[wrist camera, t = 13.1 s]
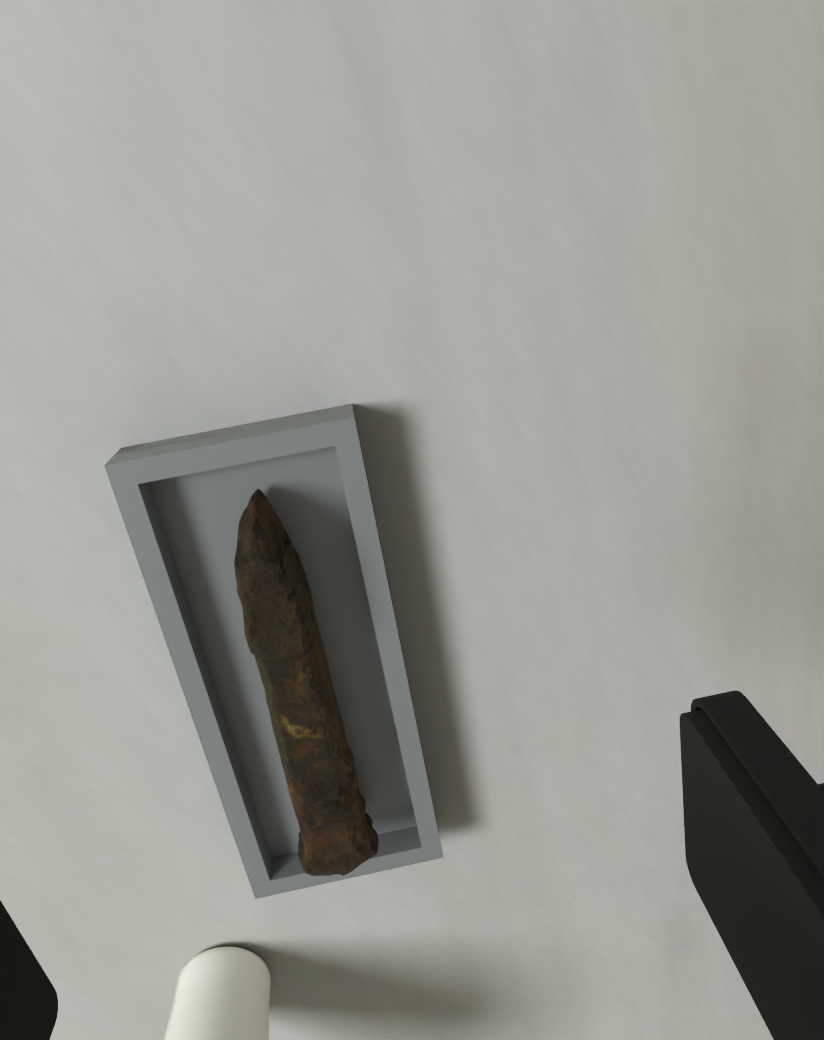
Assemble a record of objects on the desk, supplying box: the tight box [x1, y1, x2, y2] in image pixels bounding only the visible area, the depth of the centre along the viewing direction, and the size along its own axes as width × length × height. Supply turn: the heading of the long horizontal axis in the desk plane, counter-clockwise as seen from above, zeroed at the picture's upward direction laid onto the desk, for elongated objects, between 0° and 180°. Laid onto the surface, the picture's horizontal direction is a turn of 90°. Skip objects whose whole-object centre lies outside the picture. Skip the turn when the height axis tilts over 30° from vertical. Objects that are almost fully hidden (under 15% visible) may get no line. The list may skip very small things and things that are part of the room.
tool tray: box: [104, 404, 443, 899], centre depth 34 cm, size 10×24×2 cm, turn 9°
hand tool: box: [234, 489, 379, 876], centre depth 32 cm, size 19×4×5 cm, turn 6°
